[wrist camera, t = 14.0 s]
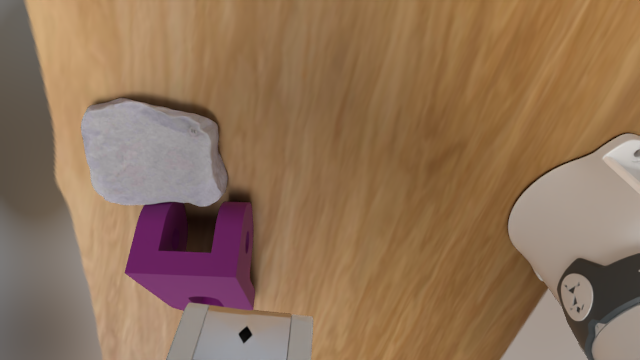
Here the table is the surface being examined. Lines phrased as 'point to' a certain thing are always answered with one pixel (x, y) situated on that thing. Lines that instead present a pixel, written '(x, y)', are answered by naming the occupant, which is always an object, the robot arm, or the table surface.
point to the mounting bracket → (194, 257)
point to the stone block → (152, 154)
